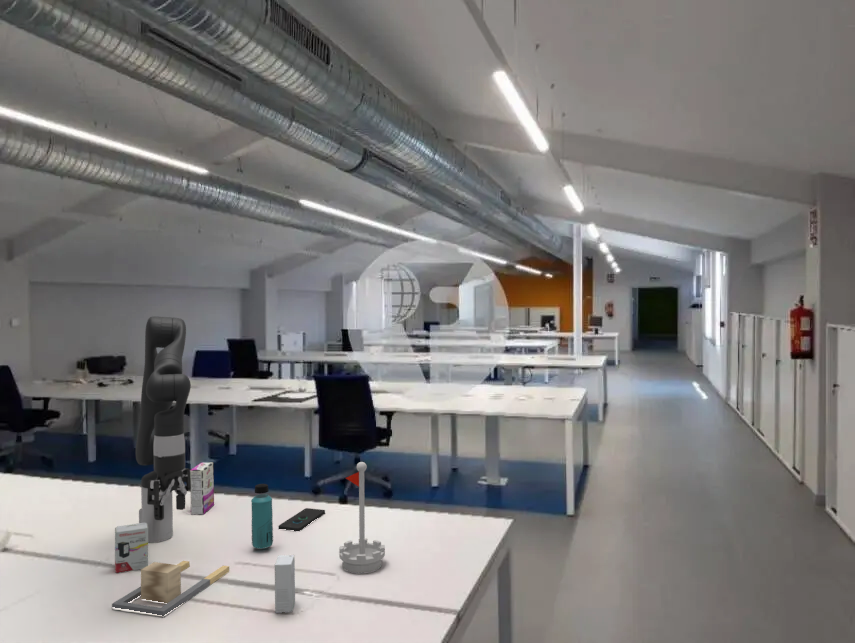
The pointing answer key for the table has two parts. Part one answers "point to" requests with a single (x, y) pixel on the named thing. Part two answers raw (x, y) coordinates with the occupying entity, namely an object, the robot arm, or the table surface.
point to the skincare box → (284, 583)
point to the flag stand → (361, 537)
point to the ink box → (131, 547)
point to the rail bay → (176, 601)
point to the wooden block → (160, 582)
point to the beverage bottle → (262, 518)
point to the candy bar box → (202, 488)
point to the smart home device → (302, 519)
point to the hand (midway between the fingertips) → (170, 514)
